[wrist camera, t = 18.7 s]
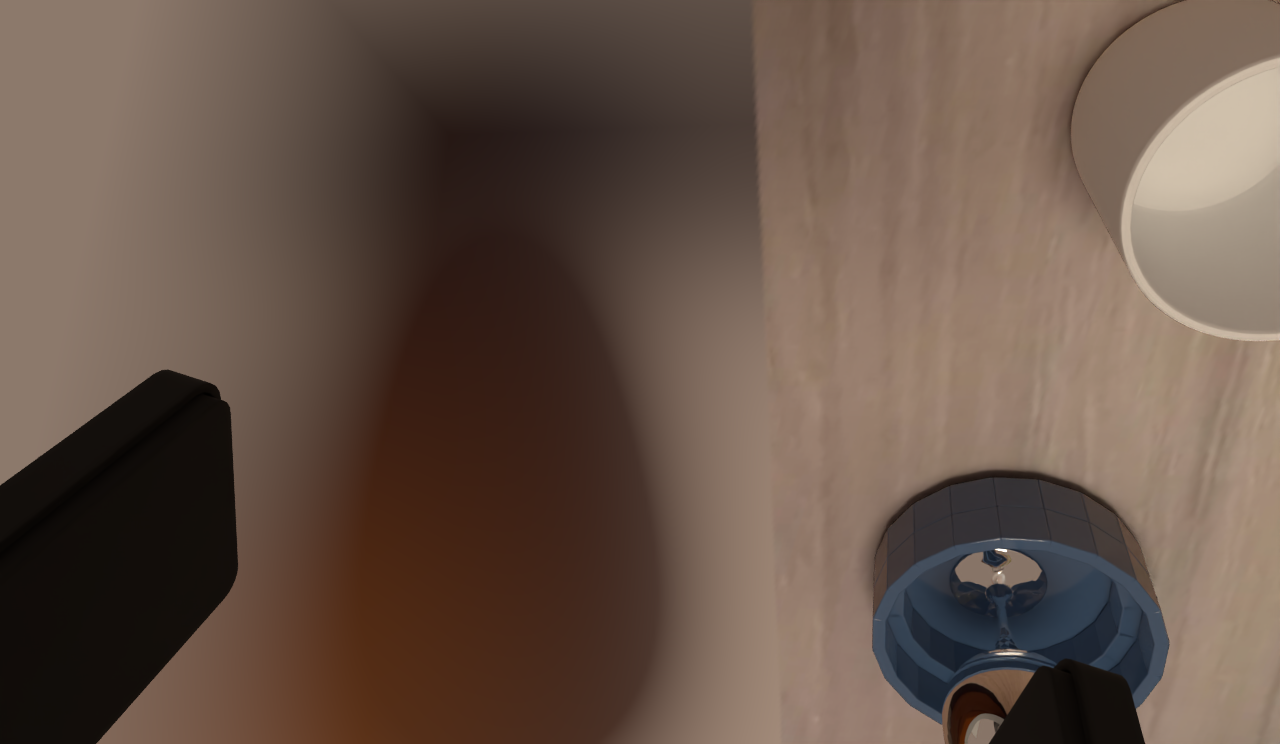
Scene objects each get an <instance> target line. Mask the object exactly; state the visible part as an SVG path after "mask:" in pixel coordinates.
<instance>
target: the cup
mask: <svg viewBox="0 0 1280 744" xmlns="http://www.w3.org/2000/svg"><path fill="white" fill-rule="evenodd" d="M1071 146H1072V153H1073V157H1074V161H1075V164H1076V167H1077V170H1078V173H1079V175H1080V178H1081V180H1082V182H1083V184H1084V186H1085V188H1086V190H1087V192H1088V194H1089V196H1090V198H1091V199H1092V201H1093V203H1094V205H1095V207H1096V209H1097V211H1098V213H1099V215H1100V217H1101V219H1102V221H1103V222H1104V224H1105V226H1106V228H1107V230H1108V232H1109V234H1110V236H1111V238H1112V240H1113V242H1114V243H1115V245H1116V247H1117V249H1118V251H1119V253H1120V255H1121V257H1122V259H1123V261H1124V263H1125V264H1126V266H1127V268H1128V270H1129V272H1130V274H1131V276H1132V278H1133V279H1134V281H1135V283H1136V284H1137V286H1138V287H1139V289H1140V290H1141V291H1142V292H1143V294H1144V295H1145V296H1146V297H1147V298H1148V299H1149V300H1150V301H1151V302H1152V303H1153V304H1154V305H1155V306H1156V307H1157V308H1158V309H1159V310H1161V311H1162V312H1163V313H1165V314H1166V315H1167V316H1169V317H1171V318H1172V319H1174V320H1175V321H1177V322H1179V323H1181V324H1183V325H1185V326H1187V327H1189V328H1192V329H1194V330H1197V331H1200V332H1202V333H1206V334H1209V335H1213V336H1217V337H1222V338H1227V339H1234V340H1244V341H1274V340H1280V4H1278V3H1275V2H1272V1H1269V0H1186V1H1182V2H1179V3H1176V4H1173V5H1170V6H1168V7H1166V8H1163V9H1161V10H1159V11H1157V12H1155V13H1153V14H1151V15H1149V16H1147V17H1145V18H1144V19H1142V20H1141V21H1139V22H1138V23H1136V24H1134V25H1133V26H1132V27H1130V28H1129V29H1128V30H1126V31H1125V32H1124V33H1123V34H1122V35H1120V36H1119V37H1118V38H1117V39H1116V40H1115V41H1114V42H1113V43H1112V44H1111V45H1110V46H1109V47H1108V48H1107V49H1106V50H1105V51H1104V52H1103V54H1102V55H1101V56H1100V57H1099V58H1098V60H1097V61H1096V62H1095V64H1094V65H1093V67H1092V68H1091V70H1090V71H1089V73H1088V75H1087V77H1086V78H1085V80H1084V82H1083V84H1082V86H1081V89H1080V91H1079V93H1078V96H1077V99H1076V102H1075V106H1074V110H1073V115H1072V122H1071Z"/></svg>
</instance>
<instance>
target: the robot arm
mask: <svg viewBox="0 0 1280 744" xmlns="http://www.w3.org/2000/svg"><path fill="white" fill-rule="evenodd" d="M237 557H238V555H237V536H236V514H235V494H234V473H233V453H232V432H231V412H230V407H229V405H228V403H227V402H225V401H223V400H221V397H220V392H219V390H218V389H217V387H216V386H215V385H213V384H211V383H208V382H205V381H202V380H199V379H196V378H193V377H189V376H186V375H183V374H180V373H177V372H174V371H171V370H161V371H159V372H157V373H155V374H153V375H152V376H151V377H150V378H148V379H146V380H145V381H144V382H142V383H141V384H139V385H138V386H137V387H135V388H134V389H133V390H131V391H130V392H129V393H127V394H126V395H125V396H123V397H122V398H120V399H119V400H117V401H116V402H115V403H113V404H112V405H111V406H109V407H108V408H107V409H105V410H104V411H102V412H101V413H99V414H98V415H97V416H95V417H94V418H93V419H91V420H90V421H88V422H87V423H86V424H85V425H83V426H82V427H81V428H79V429H78V430H76V431H75V432H73V433H72V434H71V435H69V436H68V437H67V438H65V439H64V440H62V441H61V442H60V443H58V444H57V445H55V446H54V447H53V448H51V449H50V450H49V451H47V452H46V453H44V454H43V455H42V456H40V457H39V458H38V459H36V460H35V461H33V462H32V463H31V464H29V465H28V466H27V467H25V468H24V469H22V470H21V471H20V472H18V473H17V474H15V475H14V476H13V477H11V478H10V479H9V480H7V481H6V482H5V483H3V484H2V485H0V744H96V743H97V742H98V741H99V740H100V739H101V738H102V736H103V735H104V734H105V733H106V732H107V731H108V730H109V729H110V728H111V726H112V725H113V724H114V723H115V722H116V721H117V720H118V718H119V717H120V716H121V715H122V714H123V713H124V712H125V711H126V709H127V708H128V707H129V706H130V705H131V703H133V701H134V700H135V699H136V698H137V697H138V696H139V695H140V693H141V692H142V691H143V690H144V689H145V688H146V687H147V686H148V684H149V683H150V682H151V681H152V680H153V679H154V678H155V676H156V675H157V674H158V673H159V672H160V671H161V670H162V669H163V667H164V666H165V665H166V664H167V663H168V662H169V661H170V660H171V658H172V657H173V656H174V655H175V654H176V653H177V652H178V650H179V649H180V648H181V647H182V646H183V645H184V643H186V641H187V640H188V639H189V638H190V637H191V636H192V634H193V633H194V632H195V631H196V630H197V629H198V628H199V627H200V625H201V624H202V623H203V622H204V621H205V620H206V619H207V618H208V616H209V615H210V614H211V613H212V612H213V611H214V610H215V608H216V607H217V606H218V605H219V604H220V603H221V602H222V601H223V599H224V598H225V597H226V596H227V594H228V593H229V591H230V589H231V588H232V586H233V583H234V581H235V579H236V575H237V571H238V558H237ZM989 744H1145V742H1144V738H1143V734H1142V731H1141V727H1140V723H1139V720H1138V716H1137V712H1136V708H1135V705H1134V701H1133V697H1132V693H1131V690H1130V687H1129V685H1128V682H1127V680H1126V679H1125V678H1124V677H1123V676H1122V675H1119V674H1115V673H1112V672H1109V671H1106V670H1103V669H1100V668H1097V667H1094V666H1091V665H1087V664H1084V663H1081V662H1078V661H1075V660H1072V659H1067V658H1065V659H1063V660H1061V661H1059V662H1058V664H1057V665H1056V666H1055V667H1054V668H1051V667H1048V666H1044V665H1043V666H1041V667H1039V668H1038V669H1037V670H1036V672H1035V673H1034V674H1033V676H1032V677H1031V679H1030V681H1029V682H1028V684H1027V685H1026V687H1025V688H1024V690H1023V691H1022V693H1021V694H1020V696H1019V698H1018V699H1017V701H1016V702H1015V704H1014V705H1013V707H1012V708H1011V710H1010V712H1009V713H1008V715H1007V716H1006V718H1005V719H1004V721H1003V722H1002V724H1001V725H1000V727H999V729H998V730H997V732H996V733H995V735H994V736H993V738H992V739H991V741H990V742H989Z"/></svg>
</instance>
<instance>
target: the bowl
mask: <svg viewBox="0 0 1280 744" xmlns="http://www.w3.org/2000/svg"><path fill="white" fill-rule="evenodd" d="M997 549H1017V550H1020V551H1022V552H1024V553H1026V554H1028V555H1030V556H1031V557H1033V558H1034V559H1035V560H1036V561H1038V562H1039V563H1040V565H1041V566H1042V567H1043V569H1044V571H1045V573H1046V576H1047V581H1048V582H1047V590H1046V593H1045V596H1044V598H1043V599H1042V601H1041V602H1040V603H1039V604H1038V605H1037V606H1036V607H1034V608H1033V609H1032V610H1030V611H1028V612H1026V613H1024V614H1021V615H1018V616H1014V617H1008V625H1009V629H1010V631H1011V634H1012V637H1013V639H1014V640H1015V642H1016V645H1017V648H1018V649H1024V650H1028V651H1032V652H1035V653H1038V654H1040V655H1042V656H1044V657H1047V658H1049V659H1050V660H1052V661H1054V662H1055V663H1057V664H1058V662H1059V661H1061V660H1063V659H1065V658H1067V659H1072V660H1075V661H1078V662H1081V663H1084V664H1087V665H1091V666H1094V667H1097V668H1100V669H1103V670H1106V671H1109V672H1112V673H1115V674H1119V675H1122V676H1123V677H1124V678H1125V679H1126V680H1127V682H1128V685H1129V687H1130V690H1131V693H1132V697H1133V701H1134V705H1135V708H1137V707H1139V706H1140V705H1141V704H1142V703H1143V702H1144V700H1145V699H1146V698H1147V696H1148V695H1149V694H1150V692H1151V691H1152V690H1153V689H1154V687H1155V686H1156V685H1157V683H1158V682H1159V681H1160V679H1161V678H1162V676H1163V672H1164V667H1165V663H1166V658H1167V654H1168V649H1169V639H1168V635H1167V631H1166V627H1165V623H1164V619H1163V616H1162V612H1161V609H1160V606H1159V603H1158V600H1157V597H1156V594H1155V591H1154V588H1153V585H1152V582H1151V579H1150V576H1149V573H1148V570H1147V567H1146V564H1145V561H1144V558H1143V555H1142V552H1141V549H1140V546H1139V544H1138V542H1137V541H1136V539H1135V538H1134V537H1133V536H1132V534H1131V533H1130V532H1129V531H1128V529H1127V528H1126V527H1125V525H1124V524H1123V523H1122V522H1121V520H1120V519H1119V518H1118V517H1117V516H1116V515H1115V514H1114V513H1112V512H1111V511H1109V510H1108V509H1106V508H1105V507H1103V506H1101V505H1100V504H1098V503H1097V502H1095V501H1094V500H1092V499H1091V498H1089V497H1087V496H1086V495H1084V494H1083V493H1080V492H1079V491H1075V490H1072V489H1069V488H1066V487H1062V486H1059V485H1056V484H1052V483H1049V482H1046V481H1042V480H1037V479H1022V478H1000V477H994V478H992V477H990V478H985V479H980V480H975V481H970V482H965V483H960V484H954V485H951V486H948V487H946V488H944V489H942V490H940V491H938V492H936V493H934V494H932V495H929V496H927V497H925V498H923V499H921V500H919V501H917V502H915V503H914V504H912V505H911V506H910V507H909V508H908V509H907V510H906V511H905V512H904V513H903V514H902V515H901V516H900V517H899V518H898V519H897V520H896V521H895V522H894V523H893V524H892V525H891V526H890V527H889V528H888V529H887V531H886V533H885V536H884V538H883V540H882V542H881V544H880V547H879V549H878V551H877V553H876V555H875V568H874V597H873V634H872V648H873V652H874V654H875V657H876V659H877V661H878V664H879V666H880V668H881V671H882V673H883V675H884V678H885V679H886V680H887V681H888V682H889V684H890V685H891V686H892V687H893V688H894V689H895V690H896V691H897V692H898V693H899V694H900V695H901V696H902V698H903V699H904V700H905V701H906V702H907V703H908V704H909V705H910V706H912V707H913V708H915V709H917V710H918V711H920V712H922V713H923V714H925V715H926V716H928V717H930V718H931V719H933V720H935V721H936V722H938V723H939V724H941V725H942V708H943V700H944V695H945V691H946V688H947V685H948V683H949V681H950V678H951V677H952V676H953V674H954V673H955V671H956V670H957V669H958V668H959V667H960V666H961V665H962V664H963V663H964V662H966V661H967V660H969V659H970V658H971V657H973V656H975V655H977V654H979V653H982V652H985V651H988V650H992V649H994V648H995V642H996V641H997V634H998V620H997V618H992V617H986V616H982V615H979V614H976V613H974V612H972V611H970V610H968V609H967V608H965V607H964V606H962V605H961V604H960V603H959V602H958V601H957V599H956V598H955V597H954V595H953V593H952V591H951V588H950V580H949V578H950V574H951V571H952V569H953V567H954V565H955V564H956V563H957V562H958V561H959V559H961V558H962V557H963V556H965V555H967V554H973V553H979V552H985V551H991V550H997Z"/></svg>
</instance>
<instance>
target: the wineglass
mask: <svg viewBox="0 0 1280 744" xmlns="http://www.w3.org/2000/svg"><path fill="white" fill-rule="evenodd" d="M949 580H950V588H951V591H952V593H953V595H954V597H955V598H956V599H957V601H958V602H959V603H960V604H961V605H962V606H964V607H965V608H967V609H968V610H970V611H972V612H974V613H976V614H979V615H982V616H986V617H992V618H997V620H998V634H997V641H996V642H995V648H994V649H992V650H988V651H985V652H982V653H979V654H977V655H975V656H973V657H971V658H970V659H969V660H967V661H966V662H964V663H963V664H962V665H961V666H960V667H959V668H958V669H957V670H956V671H955V673H954V674H953V676H952V677H951V678H950V681H949V683H948V685H947V688H946V691H945V695H944V700H943V708H942V727H943V734H944V741H945V744H989V742H990V741H991V739H992V738H993V736H994V735H995V733H996V732H997V730H998V729H999V727H1000V725H1001V724H1002V722H1003V721H1004V719H1005V718H1006V716H1007V715H1008V713H1009V712H1010V710H1011V708H1012V707H1013V705H1014V704H1015V702H1016V701H1017V699H1018V698H1019V696H1020V694H1021V693H1022V691H1023V690H1024V688H1025V687H1026V685H1027V684H1028V682H1029V681H1030V679H1031V677H1032V676H1033V674H1034V673H1035V672H1036V670H1037V669H1038V668H1039V667H1041V666H1043V665H1044V666H1048V667H1051V668H1054V667H1055V666H1056V665H1057V663H1055V662H1054V661H1052V660H1050V659H1049V658H1047V657H1044V656H1042V655H1040V654H1038V653H1035V652H1032V651H1028V650H1024V649H1018V648H1017V645H1016V642H1015V640H1014V639H1013V637H1012V634H1011V631H1010V629H1009V625H1008V617H1014V616H1018V615H1021V614H1024V613H1026V612H1028V611H1030V610H1032V609H1033V608H1034V607H1036V606H1037V605H1038V604H1039V603H1040V602H1041V601H1042V599H1043V598H1044V596H1045V593H1046V590H1047V582H1048V581H1047V576H1046V573H1045V571H1044V569H1043V567H1042V566H1041V565H1040V563H1039V562H1038V561H1036V560H1035V559H1034V558H1033V557H1031V556H1030V555H1028V554H1026V553H1024V552H1022V551H1020V550H1017V549H997V550H991V551H985V552H979V553H973V554H967V555H965V556H963V557H962V558H961V559H959V561H958V562H957V563H956V564H955V565H954V567H953V569H952V571H951V574H950V578H949Z"/></svg>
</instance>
